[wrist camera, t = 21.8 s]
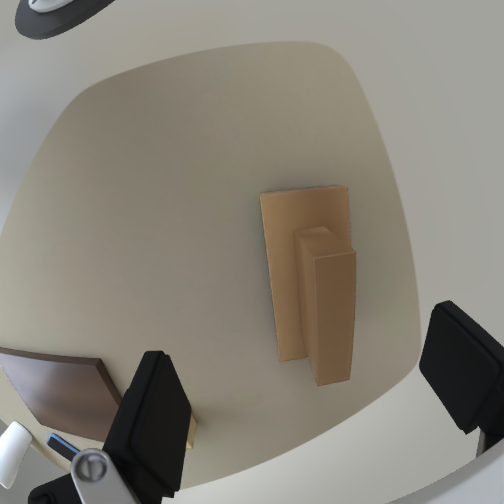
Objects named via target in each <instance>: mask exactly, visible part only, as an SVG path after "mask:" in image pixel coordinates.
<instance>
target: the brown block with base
mask: <svg viewBox="0 0 504 504" xmlns="http://www.w3.org/2000/svg"><path fill="white" fill-rule="evenodd" d="M259 198H260V206H261V214H262V221H263V229H264V237H265V245H266V253H267V261H268V269H269V277H270V286H271V294H272V303H273V311H274V320H275V329H276V337H277V346H278V353H279V360H280V361H288V360H294V359H301V358H307V357H308V358H309V361H310V365H311V368H312V372H313V375H314V379H315V382H316V385H317V386H322V385H327V384H332V383H337V382H341V381H346V380H349V379H350V372H351V362H352V350H353V337H354V320H355V292H356V252H355V251H354V250H353V249H351V236H350V216H349V200H348V188H347V187H345V186H341V185H330V186H319V187H309V188H299V189H290V190H281V191H273V192H265V193H259Z"/></svg>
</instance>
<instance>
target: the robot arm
mask: <svg viewBox="0 0 504 504" xmlns="http://www.w3.org/2000/svg"><path fill="white" fill-rule="evenodd" d="M72 1H73V0H29V6H30V8H32V9H33V10H35V11H37V12H49V11H52V10H55V9H57V8H60V7H62V6H64V5H66V4H68V3H70V2H72ZM419 368H420V371H421V373H422V374H423V376H424V377H425V378H426V380H427V381H428V383H429V384H430V386H431V387H432V389H433V390H434V391H435V393H436V394H437V396H438V397H439V399H440V400H441V402H442V403H443V405H444V406H445V408H446V409H447V411H448V412H449V414H450V416H451V417H452V419H453V420H454V422H455V423H456V425H457V426H458V428H459V429H460V430H463V431H464V433H465V434H466V435H467V434H468V433H470V432H472V431H473V430H475V429H476V428H477V427H478V426H479V428H480V429H481V430H480V436H479V442H478V448H477V453H476V458H475V459H474V460H472V461H471V462H469V463H468V464H466V465H465V466H463V467H461V468H460V469H458V470H456V471H455V472H453V473H451V474H449V475H447V476H446V477H444V478H442V479H440V480H438V481H436V482H434V483H433V484H430V485H428V486H426V487H424V488H422V489H420V490H418V491H416V492H413V493H411V494H409V495H407V496H404V497H402V498H399V499H397V500H394V501H392V502H389V503H386V504H504V347H503V346H501V344H500V343H499V342H497V341H496V340H495V339H494V338H493V337H492V336H491V335H490V334H489V333H488V332H487V331H486V330H484V329H483V328H482V327H481V326H480V325H479V324H478V323H476V322H475V321H474V320H473V319H472V318H470V316H468V315H467V314H466V313H465V312H464V311H463V310H461V309H460V308H459V307H458V306H457V305H455V304H454V303H453V302H452V301H450V300H448V301H444V302H442V303H438V304H436V306H435V307H434V309H433V310H432V313H431V318H430V322H429V327H428V331H427V336H426V340H425V344H424V348H423V352H422V355H421V359H420V362H419ZM191 414H192V410H191V405H190V403H189V401H188V399H187V396H186V394H185V392H184V390H183V387H182V385H181V383H180V380H179V378H178V375H177V373H176V371H175V368H174V366H173V363H172V361H171V358H170V356H169V355H165V354H164V352H163V351H146V352H145V353H144V355H143V358H142V360H141V362H140V364H139V366H138V369H137V371H136V373H135V375H134V378H133V380H132V382H131V385H130V387H129V388H128V389H127V391H126V392H125V394H124V397H123V399H122V401H121V404H120V406H119V408H118V411H117V413H116V416H115V418H114V420H113V423H112V425H111V428H110V430H109V433H108V435H107V438H106V441H105V443H104V446H103V448H102V450H100V449H97V448H88V449H84V450H82V451H81V452H79V453H78V454H77V455H76V456H75V457H74V458H73V460H72V462H71V467H70V470H71V473H69V474H67V475H64V476H62V477H60V478H58V479H55V480H53V481H50V482H48V483H45V484H43V485H40V486H38V487H36V488H34V489H33V490H32V491H31V492H30V495H29V497H28V504H161V501H162V497H170V498H174V493H175V492H176V491H177V492H178V491H179V489H180V484H181V477H182V470H183V464H184V457H185V451H186V444H187V438H188V432H189V426H190V420H191Z"/></svg>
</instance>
